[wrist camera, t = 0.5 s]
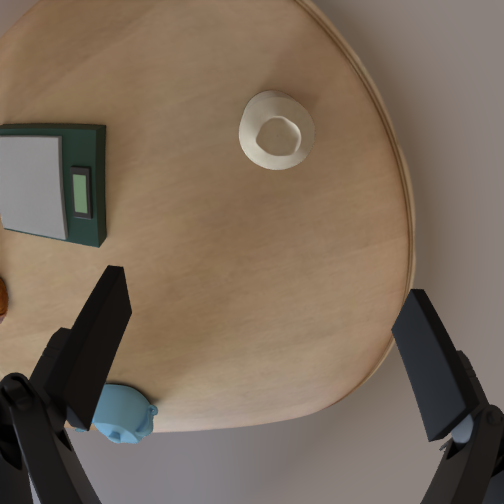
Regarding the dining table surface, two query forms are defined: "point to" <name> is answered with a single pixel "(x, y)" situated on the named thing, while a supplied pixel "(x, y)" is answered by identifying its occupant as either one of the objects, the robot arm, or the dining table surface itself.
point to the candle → (276, 130)
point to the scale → (54, 181)
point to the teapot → (123, 414)
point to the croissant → (3, 301)
